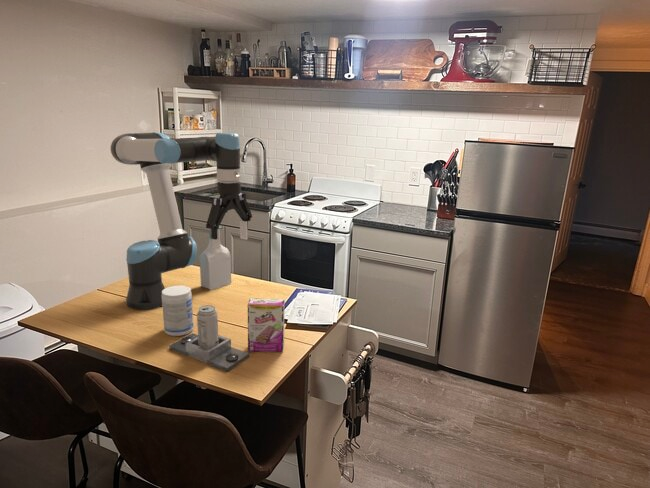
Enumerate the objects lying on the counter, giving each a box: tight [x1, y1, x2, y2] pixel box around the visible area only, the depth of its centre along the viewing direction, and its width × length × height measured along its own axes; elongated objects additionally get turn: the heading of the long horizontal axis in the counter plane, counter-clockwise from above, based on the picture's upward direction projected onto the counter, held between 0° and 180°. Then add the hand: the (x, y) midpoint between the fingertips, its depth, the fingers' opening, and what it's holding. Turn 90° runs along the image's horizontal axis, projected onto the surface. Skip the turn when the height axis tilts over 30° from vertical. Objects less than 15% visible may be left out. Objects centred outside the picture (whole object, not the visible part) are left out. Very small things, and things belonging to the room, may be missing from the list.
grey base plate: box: [168, 332, 250, 372], centre depth 144 cm, size 24×10×4 cm, turn 59°
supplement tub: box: [161, 285, 195, 337], centre depth 157 cm, size 10×10×15 cm
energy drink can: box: [196, 304, 219, 350], centre depth 143 cm, size 6×6×15 cm
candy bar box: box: [247, 298, 286, 353], centre depth 146 cm, size 11×5×16 cm, turn 91°
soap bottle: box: [199, 224, 232, 291], centre depth 195 cm, size 11×8×27 cm
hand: (230, 243), depth 159 cm, fingers open, 13 cm apart
